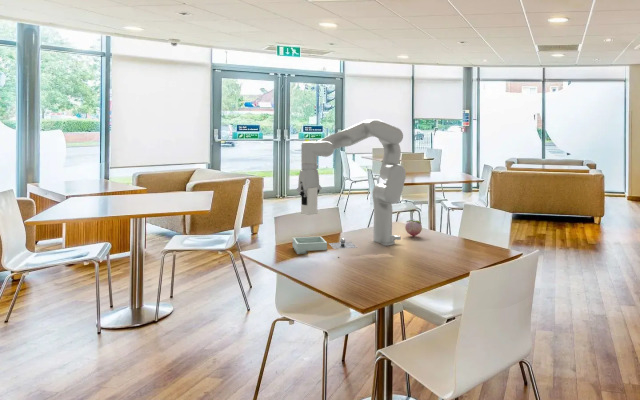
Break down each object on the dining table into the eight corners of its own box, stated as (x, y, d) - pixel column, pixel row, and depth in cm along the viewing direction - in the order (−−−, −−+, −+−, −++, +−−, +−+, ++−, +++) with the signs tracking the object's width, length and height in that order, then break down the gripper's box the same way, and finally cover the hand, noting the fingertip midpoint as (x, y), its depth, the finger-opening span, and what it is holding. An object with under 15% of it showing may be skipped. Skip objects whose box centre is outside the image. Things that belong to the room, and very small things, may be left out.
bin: (320, 245, 257) (320, 236, 257) (327, 252, 243) (327, 242, 242) (292, 247, 254) (292, 237, 254) (297, 254, 240) (297, 243, 240)
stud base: (351, 245, 259) (351, 235, 259) (357, 250, 248) (357, 240, 247) (328, 246, 257) (328, 236, 256) (333, 251, 245) (333, 241, 244)
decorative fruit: (423, 235, 283) (424, 218, 281) (420, 238, 275) (420, 220, 274) (407, 234, 287) (407, 216, 285) (403, 236, 279) (403, 219, 278)
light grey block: (309, 212, 250) (309, 186, 248) (317, 213, 246) (317, 187, 244) (301, 213, 247) (301, 187, 245) (308, 215, 242) (308, 188, 241)
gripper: (317, 166, 252) (317, 201, 254) (290, 167, 240) (290, 205, 243) (327, 166, 246) (327, 203, 249) (300, 168, 235) (300, 206, 237)
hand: (309, 203), depth 246 cm, fingers closed on light grey block, 5 cm apart
